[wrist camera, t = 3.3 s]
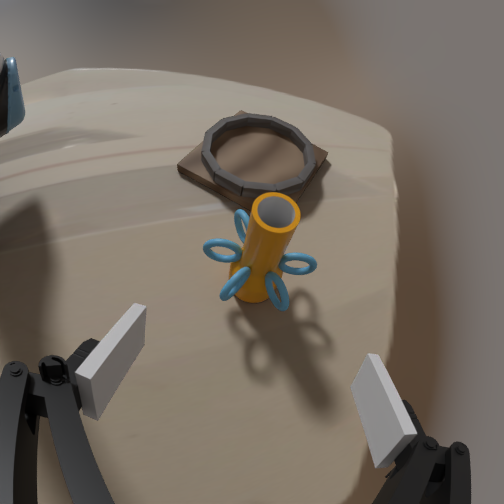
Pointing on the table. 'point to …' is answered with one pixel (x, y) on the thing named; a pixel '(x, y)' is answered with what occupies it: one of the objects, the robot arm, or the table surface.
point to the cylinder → (262, 251)
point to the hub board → (253, 158)
